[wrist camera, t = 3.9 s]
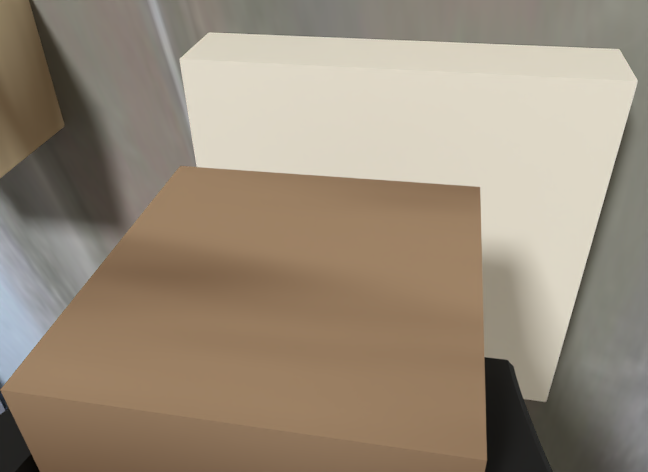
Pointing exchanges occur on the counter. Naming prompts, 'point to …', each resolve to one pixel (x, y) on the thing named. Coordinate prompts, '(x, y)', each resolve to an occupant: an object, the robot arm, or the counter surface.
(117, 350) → the walnut block
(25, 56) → the maple block
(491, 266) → the base
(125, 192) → the counter surface
